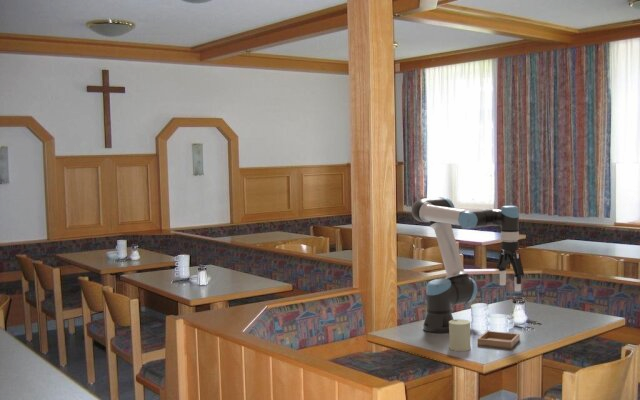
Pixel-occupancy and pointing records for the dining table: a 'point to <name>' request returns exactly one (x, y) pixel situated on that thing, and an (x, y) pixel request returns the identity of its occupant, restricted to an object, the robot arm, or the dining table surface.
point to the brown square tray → (498, 339)
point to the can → (459, 335)
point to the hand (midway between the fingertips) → (510, 288)
